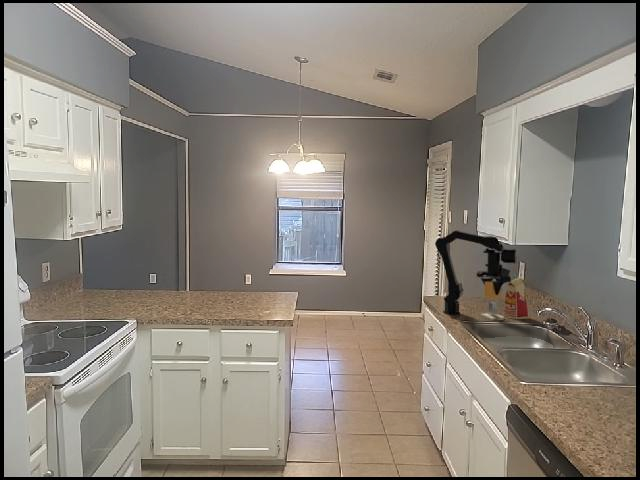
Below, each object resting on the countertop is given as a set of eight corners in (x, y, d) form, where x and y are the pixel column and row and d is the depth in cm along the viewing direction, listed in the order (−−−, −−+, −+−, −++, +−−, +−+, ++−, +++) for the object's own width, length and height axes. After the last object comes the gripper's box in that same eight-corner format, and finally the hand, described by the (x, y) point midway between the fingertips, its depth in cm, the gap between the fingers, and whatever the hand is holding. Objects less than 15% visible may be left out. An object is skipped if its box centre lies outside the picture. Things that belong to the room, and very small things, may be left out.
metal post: (492, 316, 232) (492, 303, 232) (488, 315, 235) (488, 302, 234) (496, 315, 233) (496, 303, 233) (493, 314, 236) (493, 301, 235)
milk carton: (516, 313, 242) (517, 275, 240) (529, 318, 233) (530, 278, 231) (501, 315, 239) (502, 276, 237) (514, 319, 230) (515, 279, 228)
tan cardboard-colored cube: (492, 298, 230) (492, 283, 229) (484, 296, 235) (484, 281, 235) (501, 298, 232) (501, 282, 231) (494, 295, 237) (494, 280, 236)
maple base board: (492, 320, 229) (492, 318, 229) (480, 316, 237) (480, 313, 237) (504, 319, 231) (504, 317, 231) (492, 315, 240) (492, 312, 239)
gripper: (520, 263, 225) (519, 296, 227) (494, 259, 243) (494, 289, 245) (501, 265, 222) (500, 298, 223) (476, 260, 240) (475, 290, 241)
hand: (492, 293), depth 233 cm, fingers closed on tan cardboard-colored cube, 6 cm apart
